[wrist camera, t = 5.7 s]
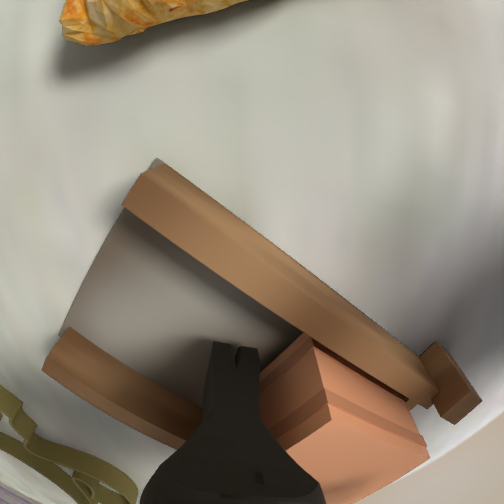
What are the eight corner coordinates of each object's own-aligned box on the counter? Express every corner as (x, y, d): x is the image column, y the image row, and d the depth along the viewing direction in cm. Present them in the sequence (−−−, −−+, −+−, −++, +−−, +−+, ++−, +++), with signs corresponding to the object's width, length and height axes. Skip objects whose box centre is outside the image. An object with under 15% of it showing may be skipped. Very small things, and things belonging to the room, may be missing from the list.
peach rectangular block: (398, 385, 13) (431, 457, 9) (308, 450, 15) (319, 519, 11) (308, 326, 12) (332, 418, 7) (213, 410, 13) (205, 492, 9)
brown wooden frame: (449, 354, 13) (482, 400, 10) (295, 469, 16) (300, 516, 13) (177, 130, 9) (141, 131, 6) (54, 346, 13) (20, 394, 9)
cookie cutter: (-40, 407, 17) (-49, 420, 15) (-51, 332, 13) (-67, 348, 12) (118, 506, 21) (114, 522, 19) (166, 473, 17) (161, 496, 15)
